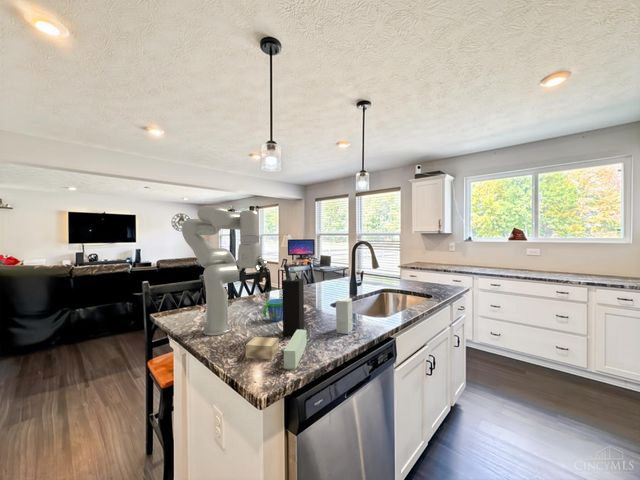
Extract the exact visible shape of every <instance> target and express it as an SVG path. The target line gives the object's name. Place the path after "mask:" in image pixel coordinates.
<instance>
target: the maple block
mask: <svg viewBox="0 0 640 480" xmlns="http://www.w3.org/2000/svg"><path fill="white" fill-rule="evenodd" d="M279 346H280V338H279V337H267V336H266V337H263V336H262V337H261V336H254V337H253V338H252V339H250V340H249V341H248V342H247V343H246V344H245V358H246V359H260V360H261V359H262V360H273V359H274V357H275V356H276V355H277V353H278V352H279V349H280V347H279Z"/></svg>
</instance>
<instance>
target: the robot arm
mask: <svg viewBox="0 0 640 480" xmlns="http://www.w3.org/2000/svg"><path fill="white" fill-rule="evenodd" d="M197 217H198V218H188V219H186V220H185V221H183V223H182V224H181V233H182V237H183V238H184V240H185V242H186V244H187V245H188V246H189V247H190V248H191V250H192V253H193V254H194V255H195V258H196V259H197V261H198V263H199V265H200V266H201V267H203V268H204V271H203V280H204V281H203V282H204V286H205V301H206V303H205V304H206V305H205V307H206V309H205V310H206V313H205V314H206V315H205V316H206V317H205V318H206V321H200V322H199V325H198V327H200V328H202V327H203V330H202V334H204V335H206V336H220V335H224V334H228V333H229V332H230V331H232V326H231V325H230V324H229V314H228V312H229V308H228V307H229V306H228V305H229V303H228V302H229V301H228V299H229V298H228V291H227V290H226V288H225V287H224V285H225V284H230V283H236V282H238V281H239V282H240V283H242V282H247V271H246V270H247V269H254V270H255V271H256V273H255V282H256V284H260V283H263V281H264V277H263V275H264V271H265V270H266V267H267V264H268V261H266V260H265V259H264V258H263V255H262V246H261V243H260V231H259V230H260V227H259V213H258V211H256V210H252V209H250V210H249V209H247V210H242V211H230V210H229V211H228V209H227V208H226V207H224V206H219V205H209V204H208V205H207V204H206V205H202V206H200V207H199V208H198V210H197ZM221 230H237V231H238V230H239V238H240V239H239V241H240V242H239V244H238V248H237V249H238V250H237V251H238V252H237V259H236V258H235V257H234V256H233V254H232V252H231V251H230V250H228V249H227V248H222V247H221V248H219V247H217V248H215V247H212V245H211V243H210V241H208V240H207V239H206V238H205V237H203V236H214V235H217V234H218V233H219V232H220V231H221Z"/></svg>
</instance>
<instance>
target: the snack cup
mask: <svg viewBox="0 0 640 480" xmlns="http://www.w3.org/2000/svg"><path fill="white" fill-rule="evenodd" d="M265 303H266V304H265V305H264V307H263V312H262V315H263V316H264V317H265V318H266V317H267V316H268V318H269V320H270V321H271V322H281V321H283V298H273V299H269V300H267V301H266V302H265ZM267 313H268V315H267Z"/></svg>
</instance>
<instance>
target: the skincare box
mask: <svg viewBox="0 0 640 480" xmlns="http://www.w3.org/2000/svg"><path fill="white" fill-rule="evenodd" d="M335 316H336V318H335V319H336V320H335V323H336V324H335V325H336V334H343V335H349V334H350V333H351V331H352V330H353V329H354V324H353V323H354V322H353V318H354V317H353V298H350V297H348V298H346V297H340V298H338V299H337V300H336V301H335Z"/></svg>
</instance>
